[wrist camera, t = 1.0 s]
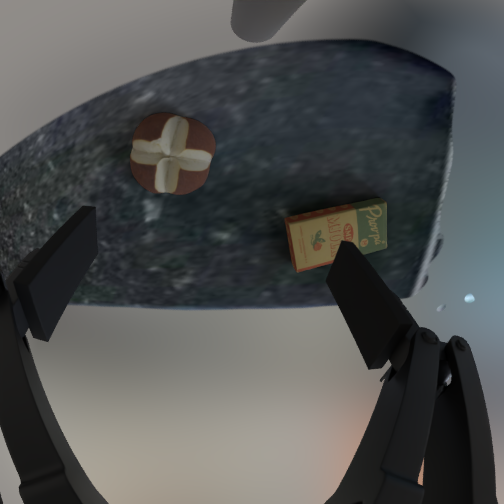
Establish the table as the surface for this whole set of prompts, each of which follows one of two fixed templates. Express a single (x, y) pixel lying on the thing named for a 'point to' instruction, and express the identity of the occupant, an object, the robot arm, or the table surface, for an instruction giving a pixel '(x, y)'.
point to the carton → (336, 232)
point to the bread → (171, 153)
